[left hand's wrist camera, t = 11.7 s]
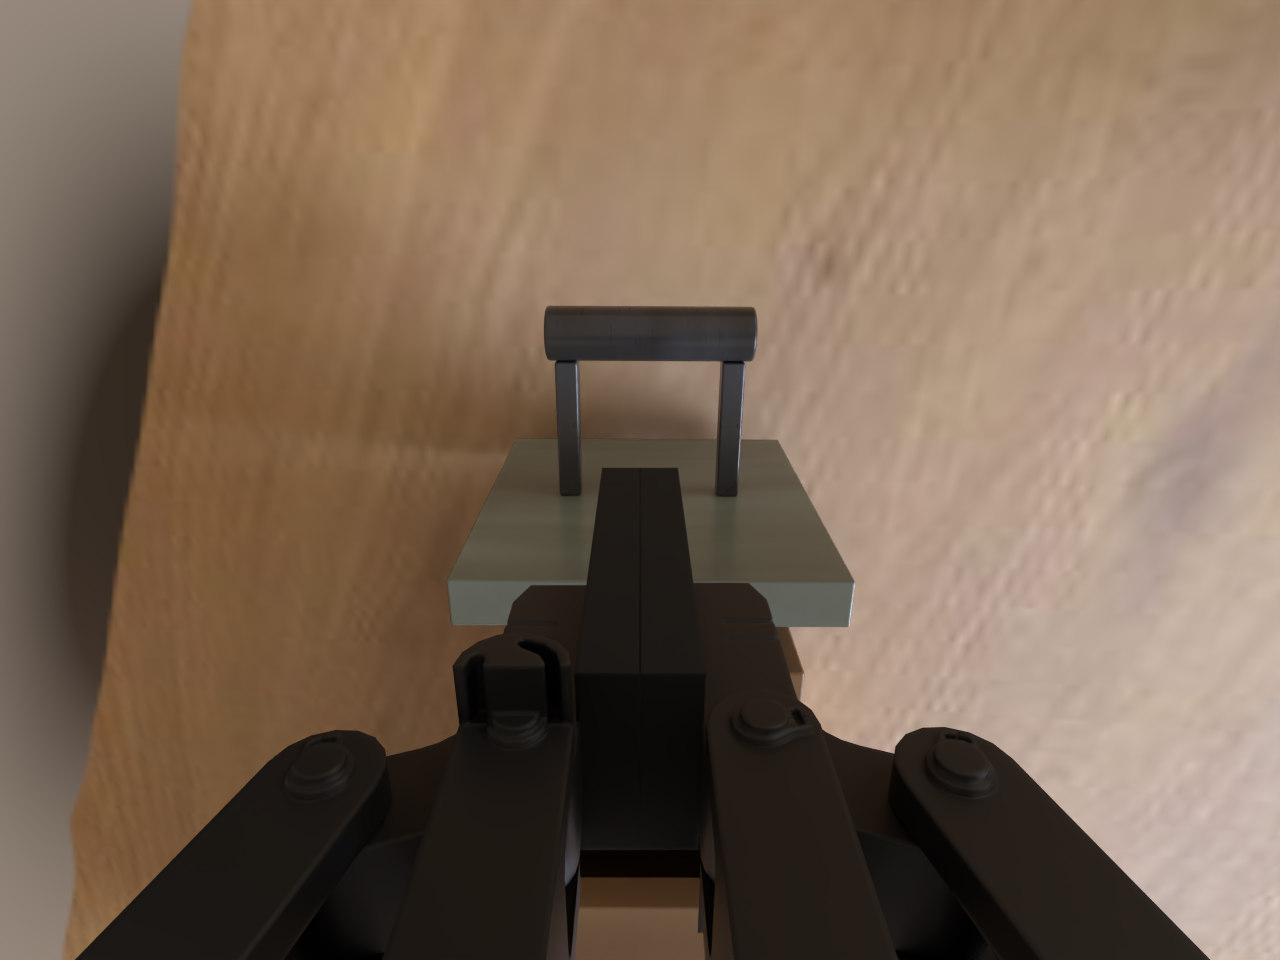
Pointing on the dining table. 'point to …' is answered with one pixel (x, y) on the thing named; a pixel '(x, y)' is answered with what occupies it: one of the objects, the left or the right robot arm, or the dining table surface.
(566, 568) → the drawer
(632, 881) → the cabinet
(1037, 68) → the dining table surface
